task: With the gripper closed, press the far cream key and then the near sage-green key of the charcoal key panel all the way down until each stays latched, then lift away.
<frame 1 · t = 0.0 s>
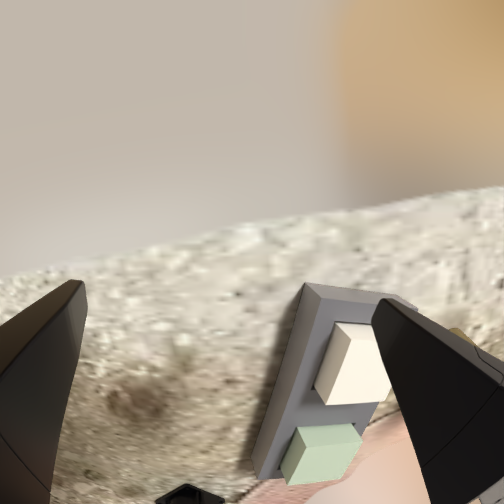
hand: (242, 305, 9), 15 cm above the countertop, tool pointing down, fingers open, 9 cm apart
sage key: (319, 453, 27), point 4 cm above the countertop, slide at 0.0 cm
cream key: (361, 363, 25), point 4 cm above the countertop, slide at 0.0 cm
key panel: (321, 387, 30), on the countertop
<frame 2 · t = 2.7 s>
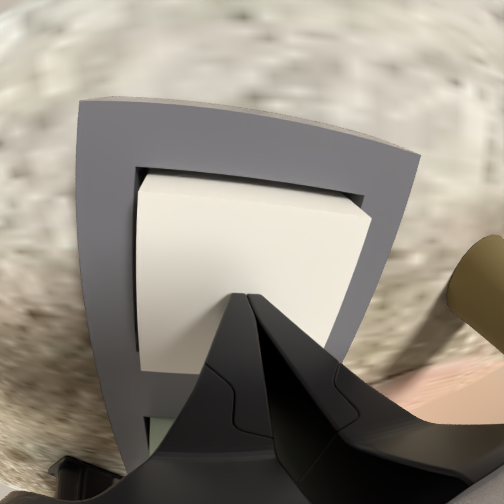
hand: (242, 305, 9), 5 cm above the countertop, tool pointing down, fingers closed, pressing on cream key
sage key: (210, 463, 14), point 4 cm above the countertop, slide at 0.0 cm
cream key: (237, 274, 10), point 3 cm above the countertop, slide at 1.3 cm, touching gripper
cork: (477, 274, 17), on the countertop
key panel: (213, 336, 16), on the countertop
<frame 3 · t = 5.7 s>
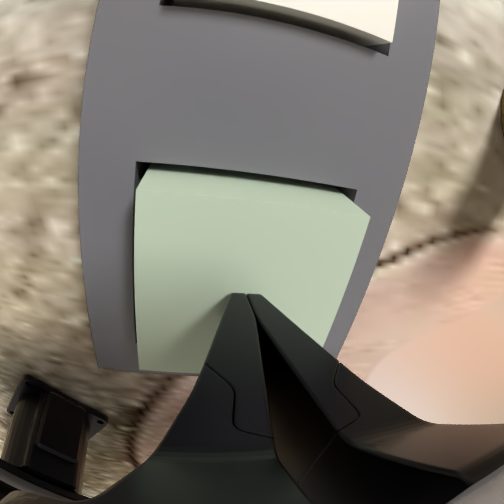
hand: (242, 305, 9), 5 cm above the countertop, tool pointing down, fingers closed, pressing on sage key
sage key: (236, 273, 10), point 3 cm above the countertop, slide at 0.9 cm, touching gripper
key panel: (248, 94, 11), on the countertop
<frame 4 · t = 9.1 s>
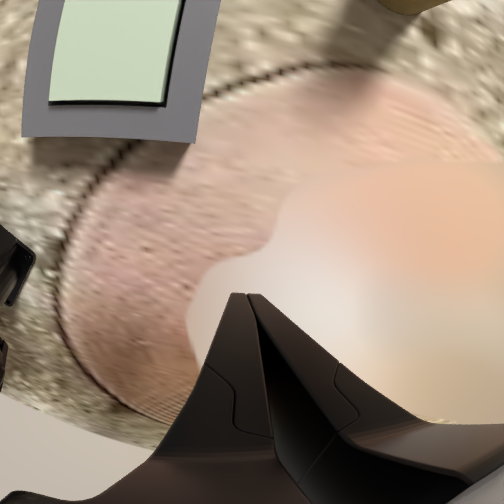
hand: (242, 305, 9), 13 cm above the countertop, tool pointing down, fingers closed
sage key: (117, 45, 13), point 3 cm above the countertop, slide at 1.9 cm
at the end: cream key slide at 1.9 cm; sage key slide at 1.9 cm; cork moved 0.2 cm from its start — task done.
